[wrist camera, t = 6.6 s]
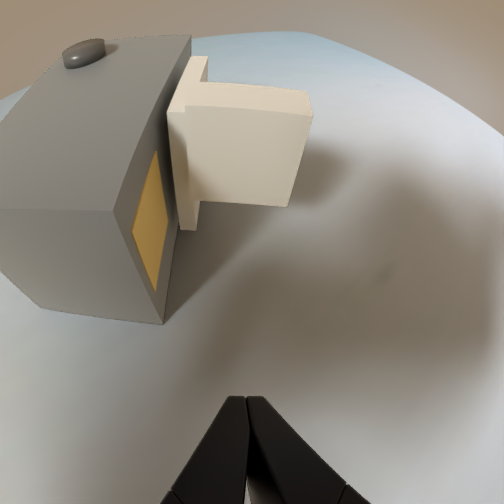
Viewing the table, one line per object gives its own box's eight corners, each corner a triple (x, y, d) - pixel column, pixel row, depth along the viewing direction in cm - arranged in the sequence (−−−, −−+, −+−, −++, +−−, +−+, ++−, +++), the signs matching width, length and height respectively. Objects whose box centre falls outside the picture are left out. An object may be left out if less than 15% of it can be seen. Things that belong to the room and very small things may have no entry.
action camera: (164, 324, 14) (107, 191, 6) (40, 307, 14) (-66, 196, 6) (197, 134, 21) (198, 15, 14) (107, 134, 21) (85, 25, 13)
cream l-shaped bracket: (274, 249, 16) (313, 116, 9) (178, 243, 15) (159, 105, 9) (271, 167, 19) (295, 49, 12) (193, 161, 18) (191, 41, 12)
